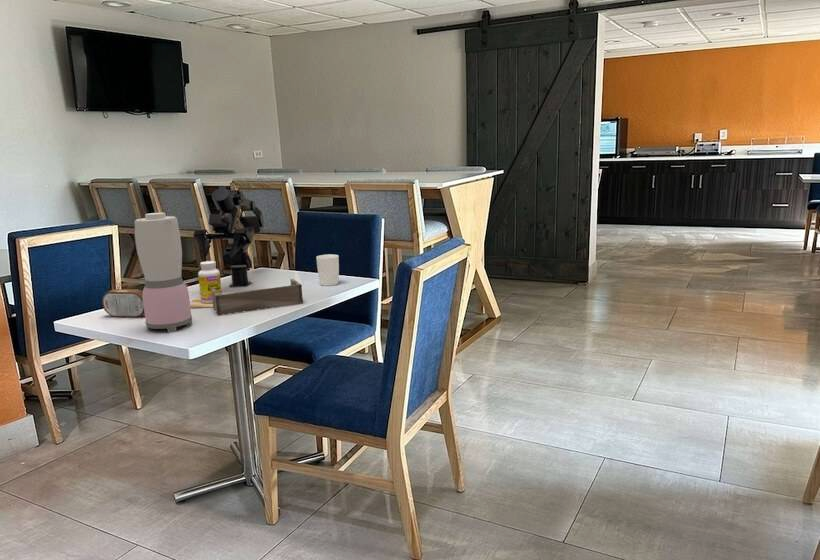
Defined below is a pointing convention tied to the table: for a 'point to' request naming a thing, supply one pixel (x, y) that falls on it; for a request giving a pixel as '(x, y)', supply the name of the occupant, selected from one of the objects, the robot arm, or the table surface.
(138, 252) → the blender
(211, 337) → the table surface
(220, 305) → the cubby
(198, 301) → the coaster
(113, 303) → the tin
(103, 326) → the table surface
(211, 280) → the supplement bottle
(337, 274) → the white cup
